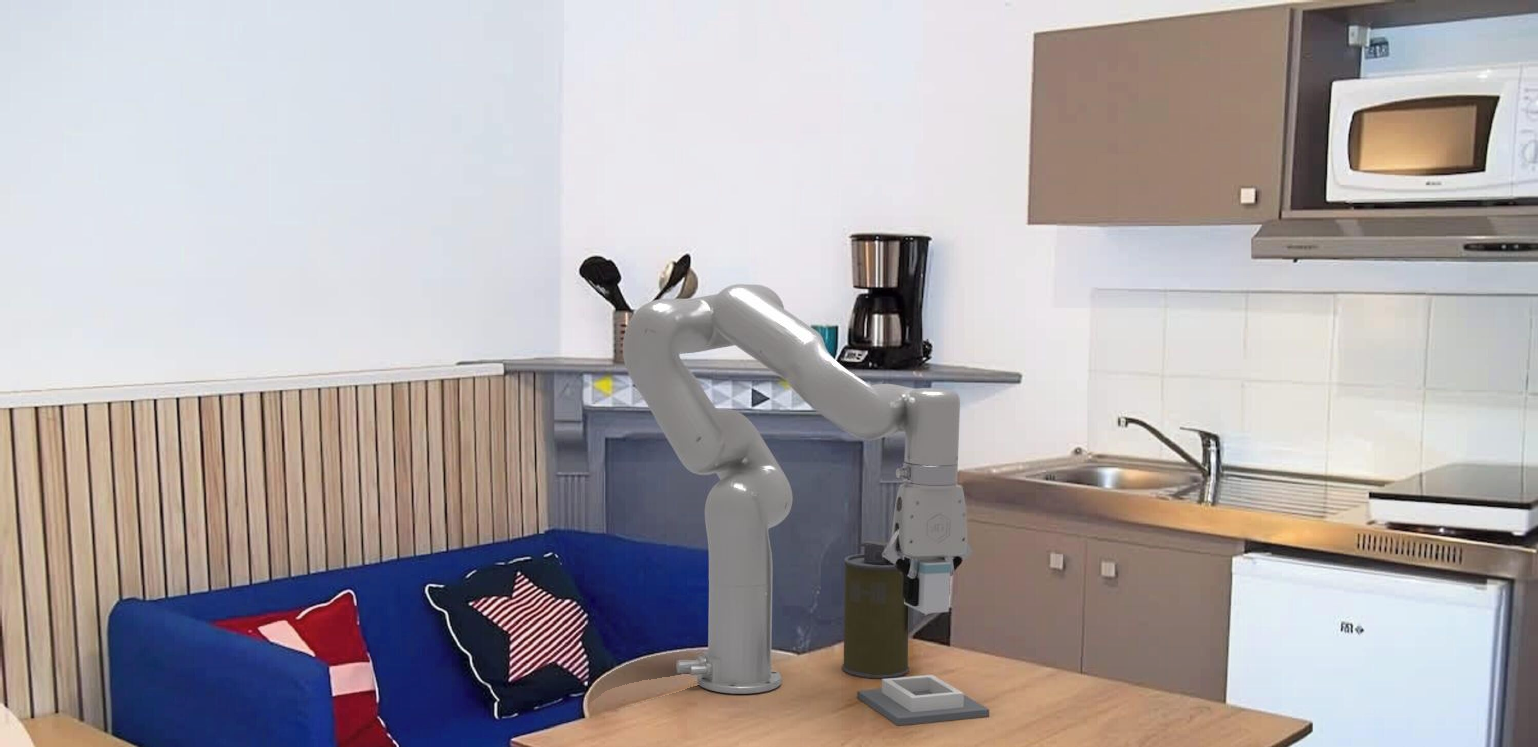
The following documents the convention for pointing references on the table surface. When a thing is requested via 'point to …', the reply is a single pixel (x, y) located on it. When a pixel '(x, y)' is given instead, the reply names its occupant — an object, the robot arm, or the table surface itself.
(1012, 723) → the table surface
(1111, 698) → the table surface
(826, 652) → the table surface
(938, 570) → the plug
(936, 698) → the grey square socket base
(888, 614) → the canister
